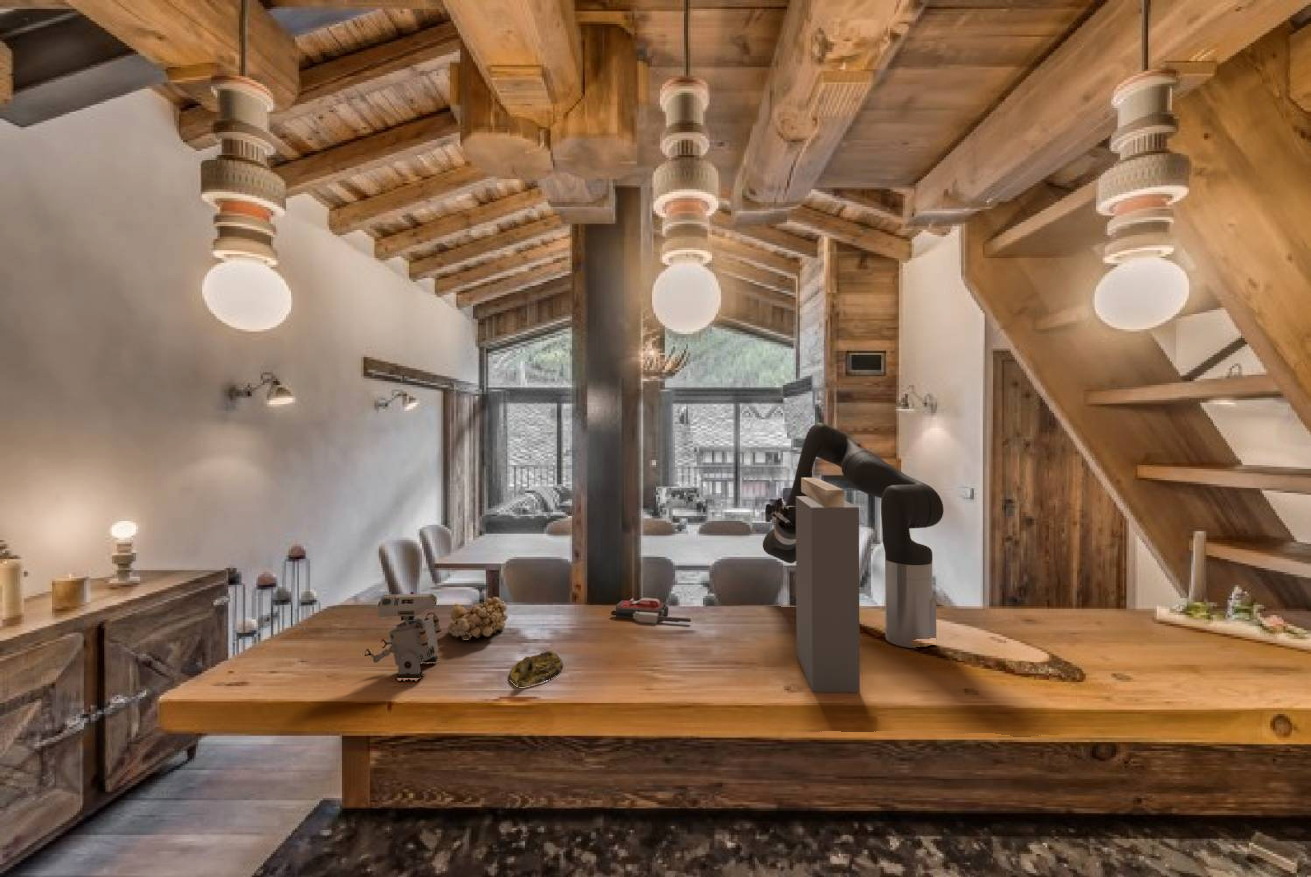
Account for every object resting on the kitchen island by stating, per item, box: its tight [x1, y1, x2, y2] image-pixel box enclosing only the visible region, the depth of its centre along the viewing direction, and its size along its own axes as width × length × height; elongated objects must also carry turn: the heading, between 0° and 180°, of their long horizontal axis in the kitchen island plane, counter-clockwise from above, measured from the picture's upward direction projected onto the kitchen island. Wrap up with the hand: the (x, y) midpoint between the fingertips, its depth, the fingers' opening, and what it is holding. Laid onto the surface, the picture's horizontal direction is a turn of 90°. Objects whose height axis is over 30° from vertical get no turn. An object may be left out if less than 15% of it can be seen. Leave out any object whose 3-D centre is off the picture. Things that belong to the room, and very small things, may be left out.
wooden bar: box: [801, 477, 845, 508], centre depth 113 cm, size 3×24×3 cm, turn 176°
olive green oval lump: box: [508, 650, 564, 687], centre depth 112 cm, size 9×5×15 cm
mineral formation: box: [445, 596, 509, 640], centre depth 130 cm, size 8×13×15 cm
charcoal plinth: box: [795, 496, 861, 693], centre depth 109 cm, size 8×16×32 cm, turn 176°
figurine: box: [364, 591, 442, 679], centre depth 112 cm, size 9×12×15 cm
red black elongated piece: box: [610, 597, 692, 625], centre depth 143 cm, size 9×4×20 cm
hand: (799, 501), depth 136 cm, fingers open, 8 cm apart
